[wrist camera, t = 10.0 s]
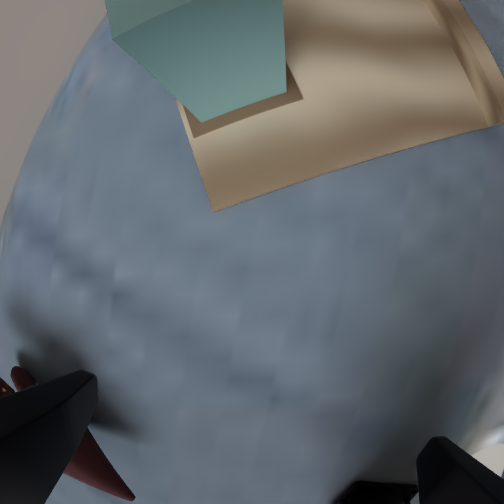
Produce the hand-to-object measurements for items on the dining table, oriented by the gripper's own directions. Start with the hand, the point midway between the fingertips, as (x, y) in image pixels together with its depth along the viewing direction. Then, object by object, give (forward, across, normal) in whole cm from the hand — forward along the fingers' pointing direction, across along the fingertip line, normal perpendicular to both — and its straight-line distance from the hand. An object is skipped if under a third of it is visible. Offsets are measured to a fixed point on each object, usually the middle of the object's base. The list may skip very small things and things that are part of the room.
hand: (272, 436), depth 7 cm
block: (+12, +5, -11) cm, 18 cm away
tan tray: (+13, 0, -15) cm, 20 cm away
